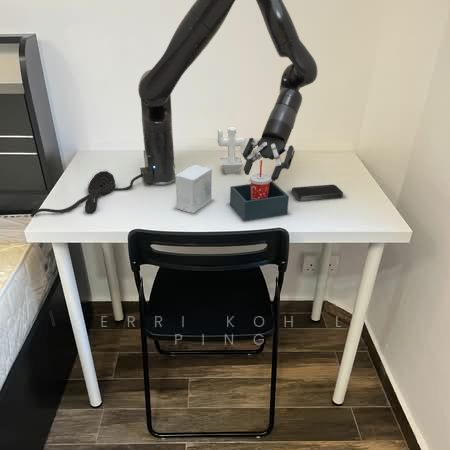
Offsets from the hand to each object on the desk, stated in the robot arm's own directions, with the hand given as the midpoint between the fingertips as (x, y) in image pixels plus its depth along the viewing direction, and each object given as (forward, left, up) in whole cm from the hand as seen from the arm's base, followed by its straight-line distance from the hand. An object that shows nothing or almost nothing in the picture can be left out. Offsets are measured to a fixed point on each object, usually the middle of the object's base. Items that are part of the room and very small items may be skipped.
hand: (259, 176), depth 130 cm
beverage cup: (0, 0, -10) cm, 10 cm away
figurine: (+3, +31, -10) cm, 33 cm away
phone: (+22, +4, -10) cm, 25 cm away
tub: (0, 0, -10) cm, 10 cm away
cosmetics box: (-17, +9, -10) cm, 22 cm away
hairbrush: (-43, +25, -10) cm, 51 cm away
